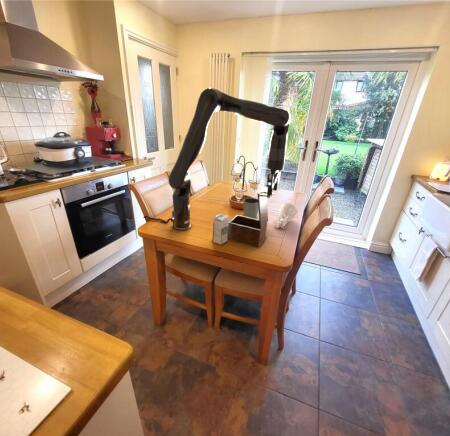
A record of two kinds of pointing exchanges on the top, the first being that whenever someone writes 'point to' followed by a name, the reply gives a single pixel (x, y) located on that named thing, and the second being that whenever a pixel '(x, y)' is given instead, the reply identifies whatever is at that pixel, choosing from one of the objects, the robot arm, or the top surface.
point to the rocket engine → (286, 214)
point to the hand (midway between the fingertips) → (272, 192)
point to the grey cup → (250, 207)
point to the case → (246, 230)
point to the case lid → (263, 207)
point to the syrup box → (220, 228)
